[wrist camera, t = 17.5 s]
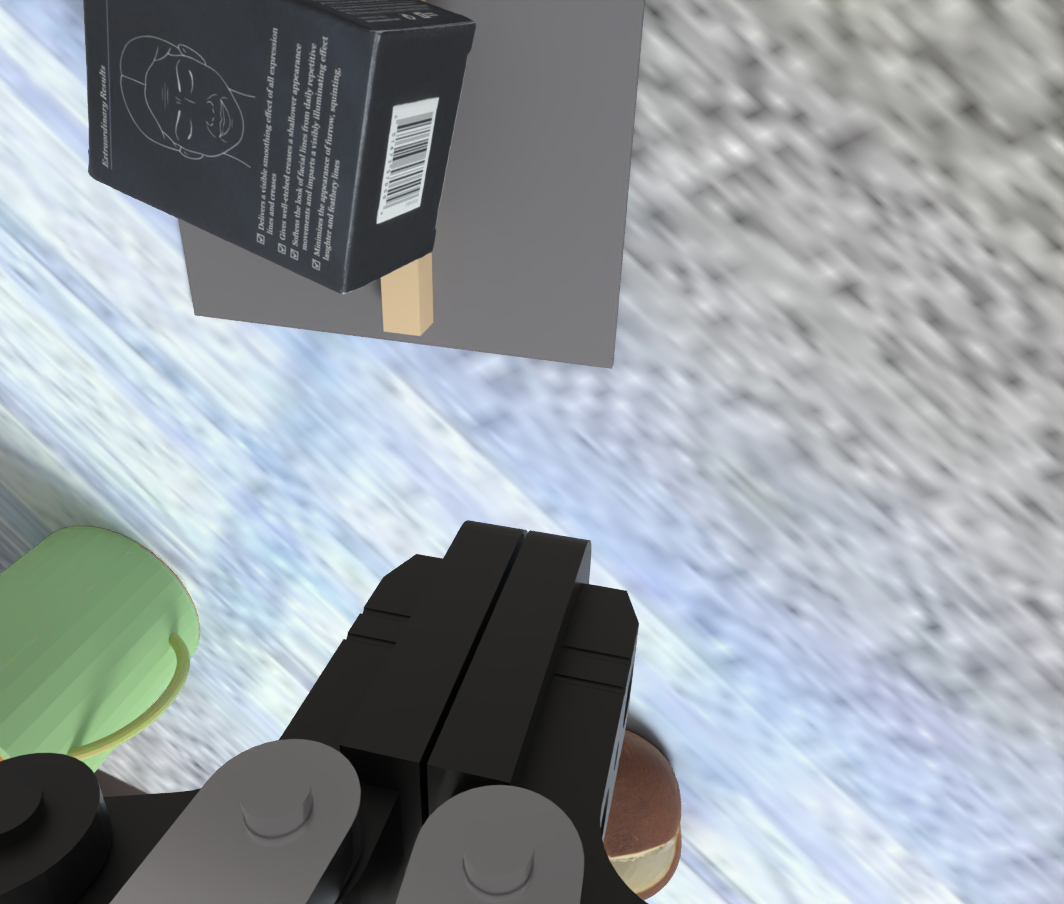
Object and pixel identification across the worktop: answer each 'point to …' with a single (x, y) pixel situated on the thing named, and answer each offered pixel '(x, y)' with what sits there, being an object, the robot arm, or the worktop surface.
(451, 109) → the box
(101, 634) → the mug
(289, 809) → the robot arm
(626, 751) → the bread
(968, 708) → the worktop surface
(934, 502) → the worktop surface
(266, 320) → the mat
